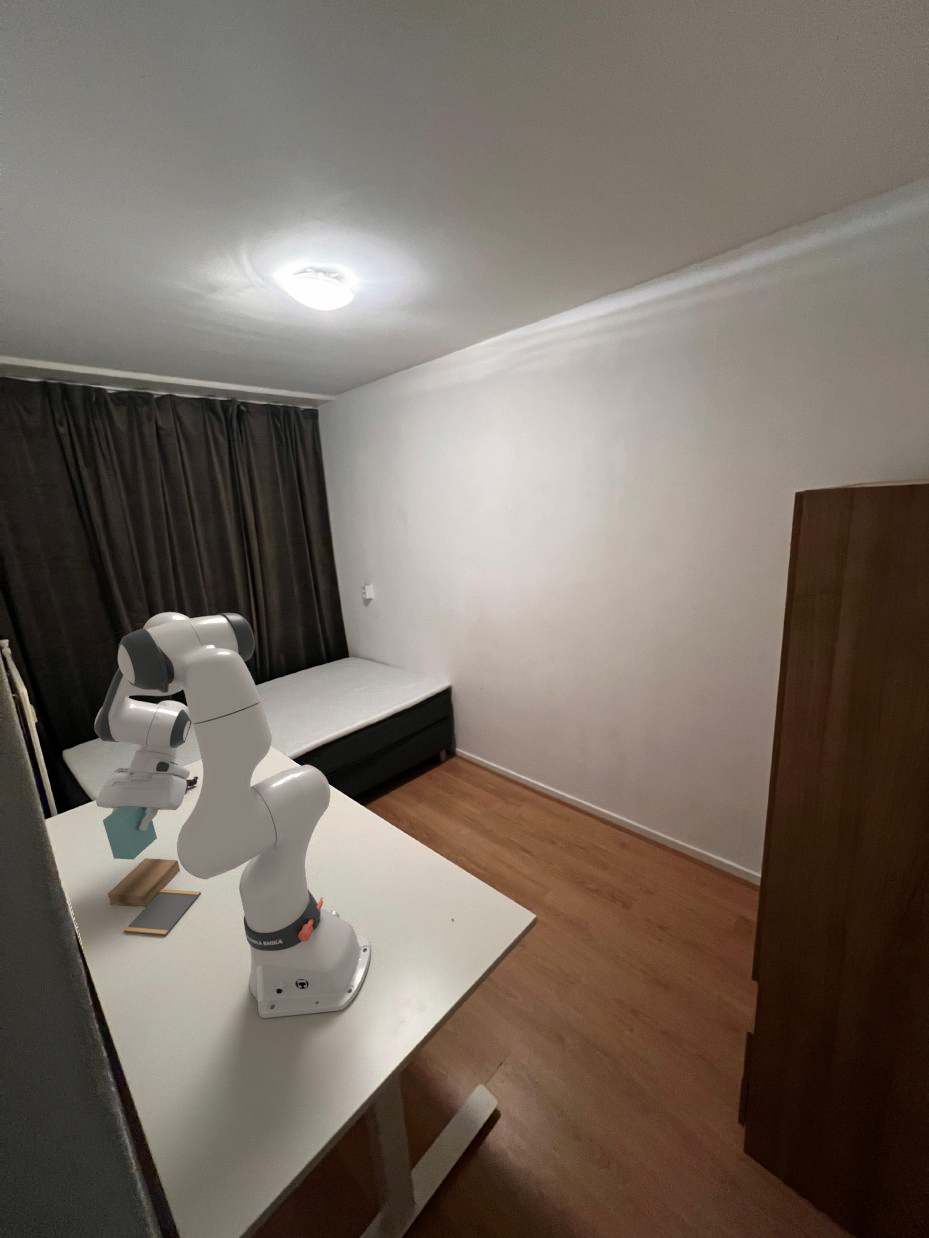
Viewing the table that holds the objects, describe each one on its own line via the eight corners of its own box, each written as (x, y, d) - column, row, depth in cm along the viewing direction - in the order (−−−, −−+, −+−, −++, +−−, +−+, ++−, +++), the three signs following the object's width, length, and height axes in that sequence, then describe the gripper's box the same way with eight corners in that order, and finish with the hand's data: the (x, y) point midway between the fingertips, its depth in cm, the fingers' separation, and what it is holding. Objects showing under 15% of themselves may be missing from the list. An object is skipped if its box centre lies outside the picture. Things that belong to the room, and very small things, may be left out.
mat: (200, 894, 111) (200, 891, 111) (166, 936, 101) (165, 933, 101) (162, 891, 113) (161, 888, 113) (124, 932, 102) (123, 930, 102)
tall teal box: (157, 838, 115) (147, 801, 112) (133, 859, 108) (122, 820, 105) (138, 837, 115) (128, 800, 113) (113, 858, 109) (102, 820, 106)
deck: (180, 870, 119) (177, 860, 118) (145, 907, 109) (142, 896, 108) (147, 868, 121) (145, 858, 120) (110, 904, 110) (107, 893, 109)
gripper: (103, 764, 116) (77, 826, 109) (179, 765, 112) (157, 829, 105) (123, 770, 121) (99, 830, 114) (196, 771, 118) (176, 832, 111)
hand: (128, 829), depth 110 cm, fingers closed on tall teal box, 5 cm apart
